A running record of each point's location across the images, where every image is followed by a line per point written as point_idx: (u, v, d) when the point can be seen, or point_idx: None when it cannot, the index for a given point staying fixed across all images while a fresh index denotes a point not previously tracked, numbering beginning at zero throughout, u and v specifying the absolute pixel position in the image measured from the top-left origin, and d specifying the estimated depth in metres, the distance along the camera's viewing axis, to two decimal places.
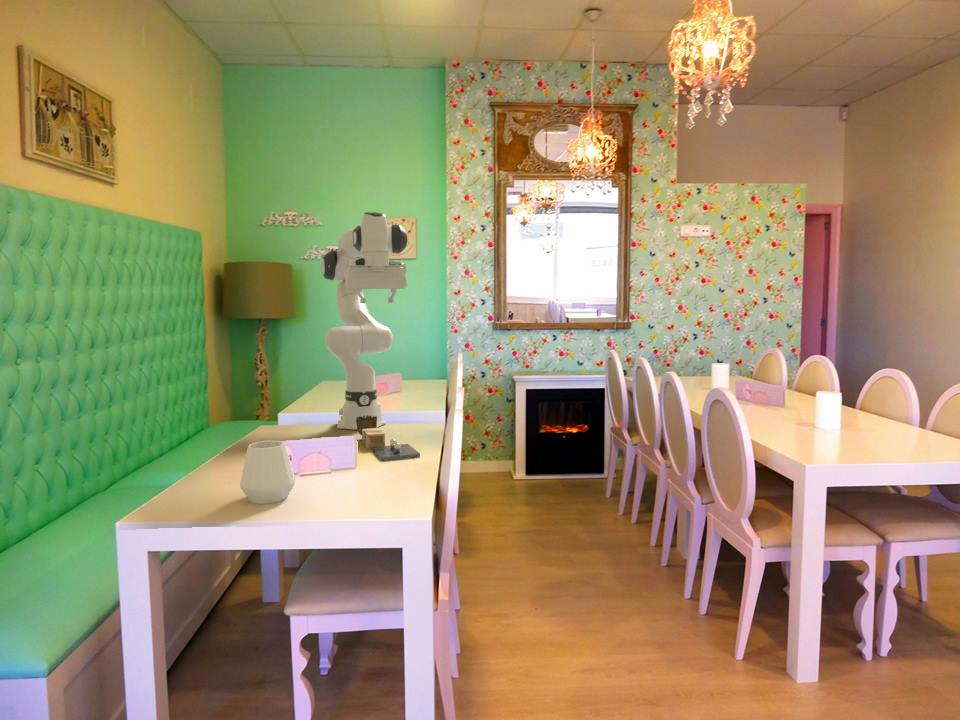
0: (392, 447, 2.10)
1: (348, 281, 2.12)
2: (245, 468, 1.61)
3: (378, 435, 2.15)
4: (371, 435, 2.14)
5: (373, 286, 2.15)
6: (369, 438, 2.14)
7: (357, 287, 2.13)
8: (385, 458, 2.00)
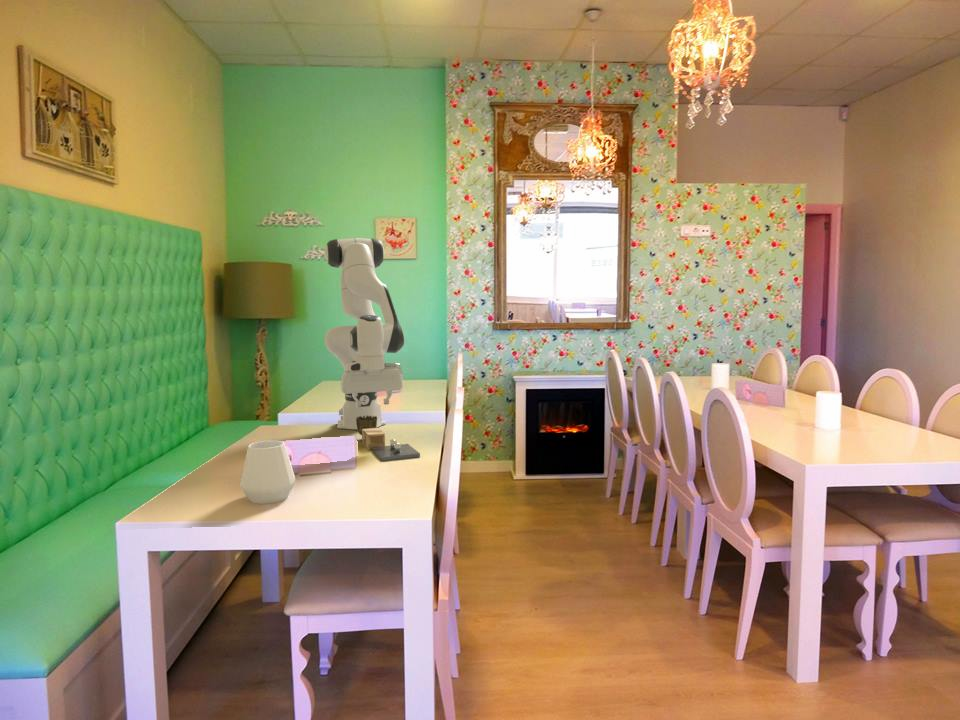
0: (392, 447, 2.10)
1: (344, 386, 2.12)
2: (245, 468, 1.61)
3: (378, 435, 2.15)
4: (371, 435, 2.14)
5: (369, 389, 2.15)
6: (369, 438, 2.14)
7: (353, 391, 2.13)
8: (385, 458, 2.00)
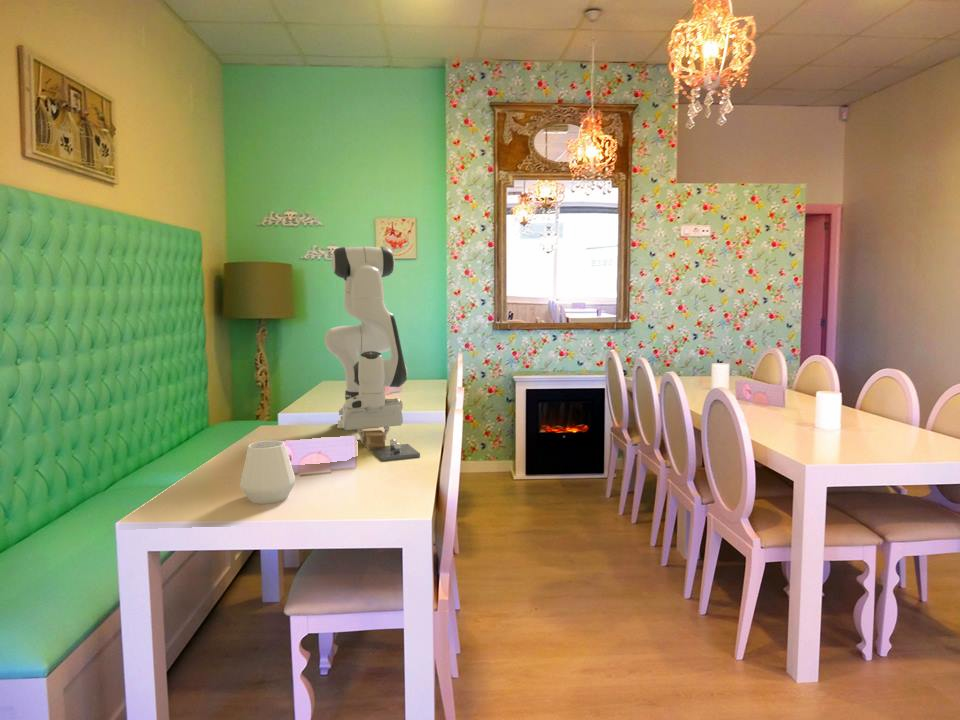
0: (392, 447, 2.10)
1: (345, 423, 2.14)
2: (245, 468, 1.61)
3: (378, 435, 2.15)
4: (371, 435, 2.14)
5: (369, 426, 2.17)
6: (369, 438, 2.14)
7: (354, 428, 2.15)
8: (385, 458, 2.00)
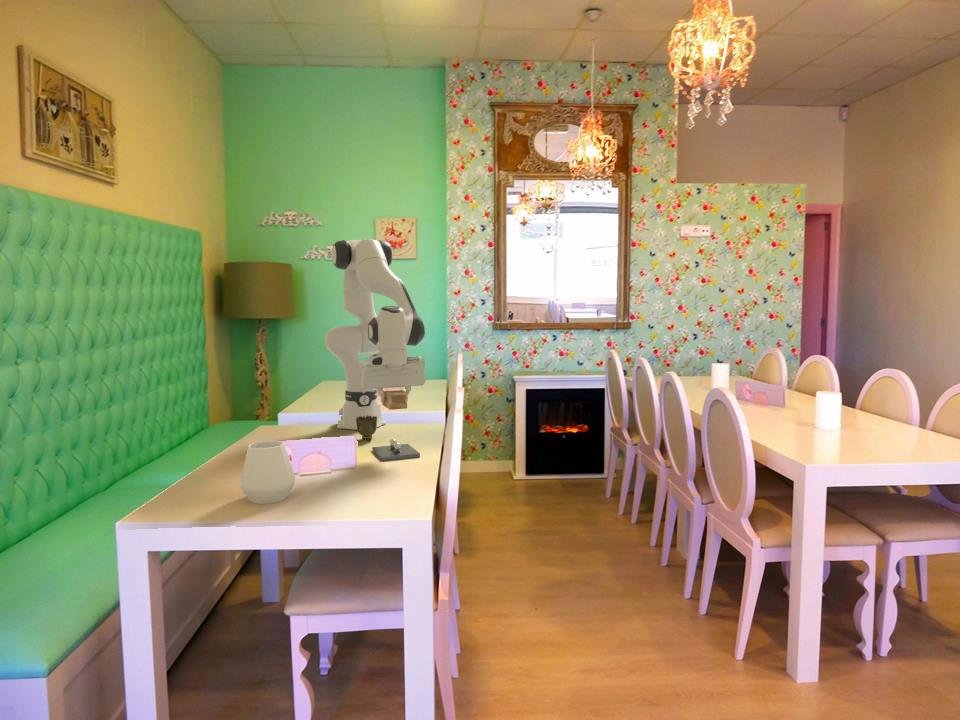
0: (392, 447, 2.10)
1: (364, 381, 2.00)
2: (245, 468, 1.61)
3: (400, 394, 2.02)
4: (392, 394, 2.01)
5: (390, 385, 2.04)
6: (390, 397, 2.01)
7: (374, 387, 2.02)
8: (385, 458, 2.00)
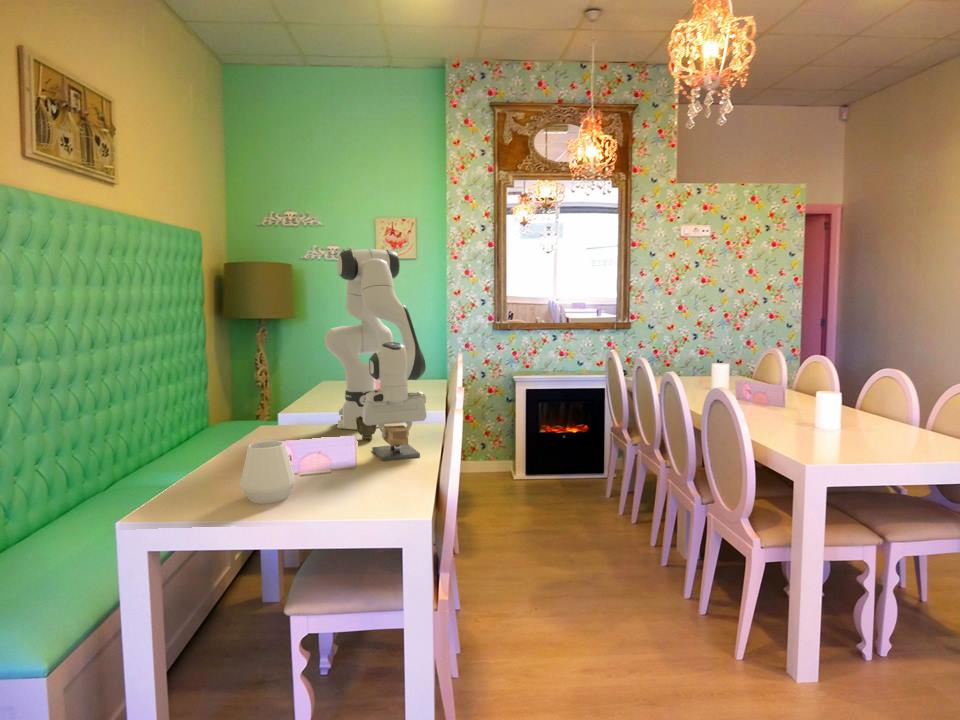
0: (392, 447, 2.10)
1: (366, 418, 2.02)
2: (245, 468, 1.61)
3: (401, 430, 2.03)
4: (394, 430, 2.02)
5: (392, 421, 2.05)
6: (391, 434, 2.02)
7: (375, 423, 2.03)
8: (385, 458, 2.00)
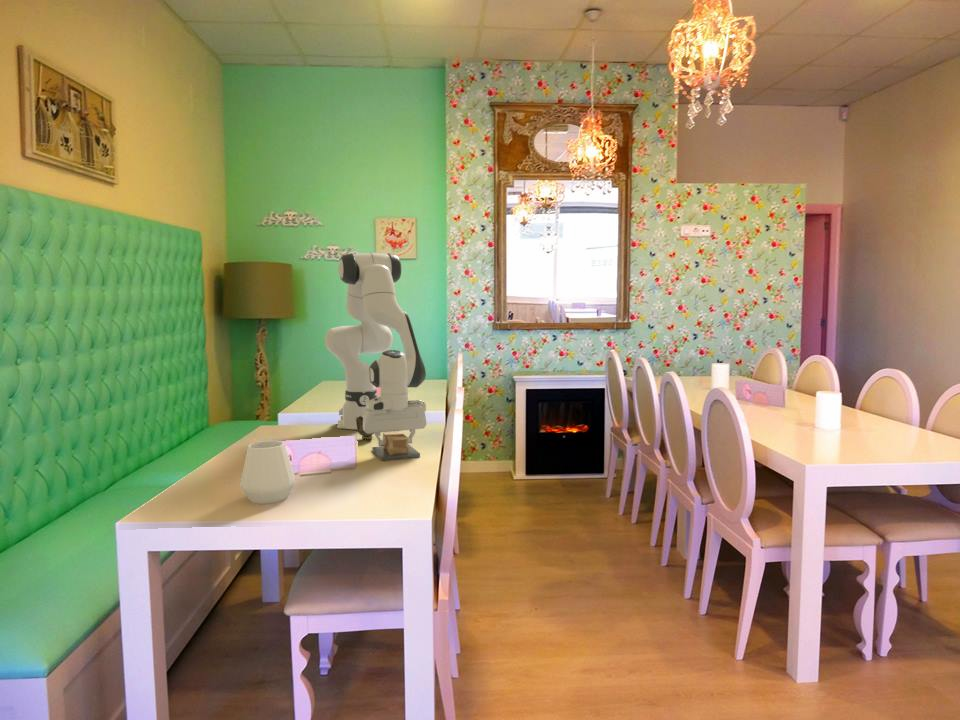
0: None
1: (366, 426, 2.02)
2: (245, 468, 1.61)
3: (401, 439, 2.03)
4: (394, 439, 2.03)
5: (392, 429, 2.05)
6: (391, 442, 2.02)
7: (375, 431, 2.03)
8: (385, 458, 2.00)
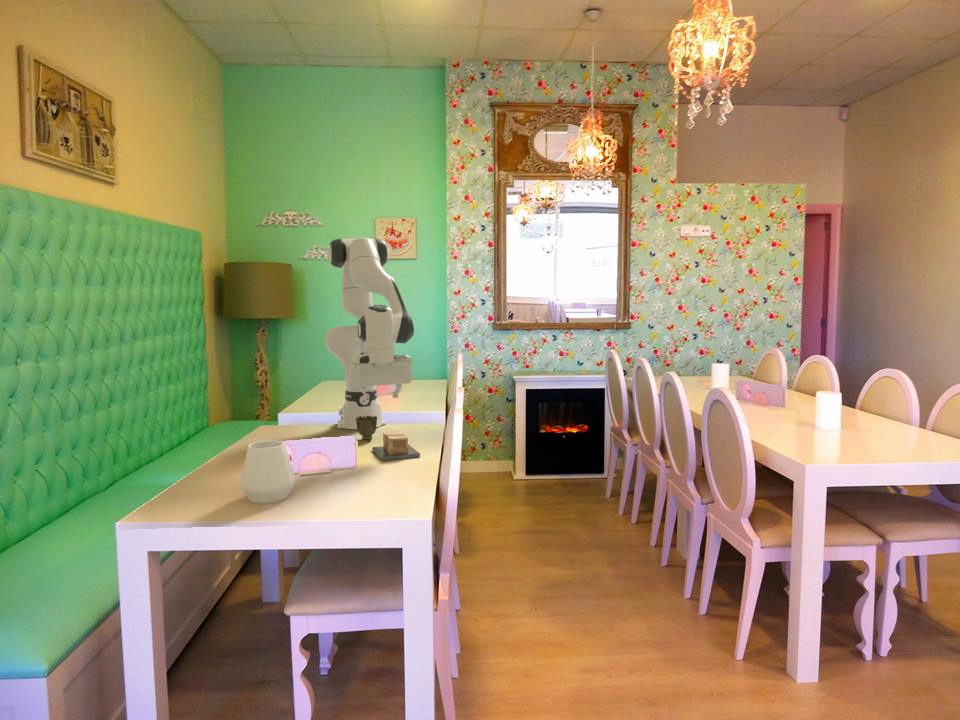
0: None
1: (352, 379, 2.04)
2: (245, 468, 1.61)
3: (401, 439, 2.03)
4: (394, 439, 2.03)
5: (377, 383, 2.07)
6: (391, 442, 2.02)
7: (361, 385, 2.05)
8: (385, 458, 2.00)
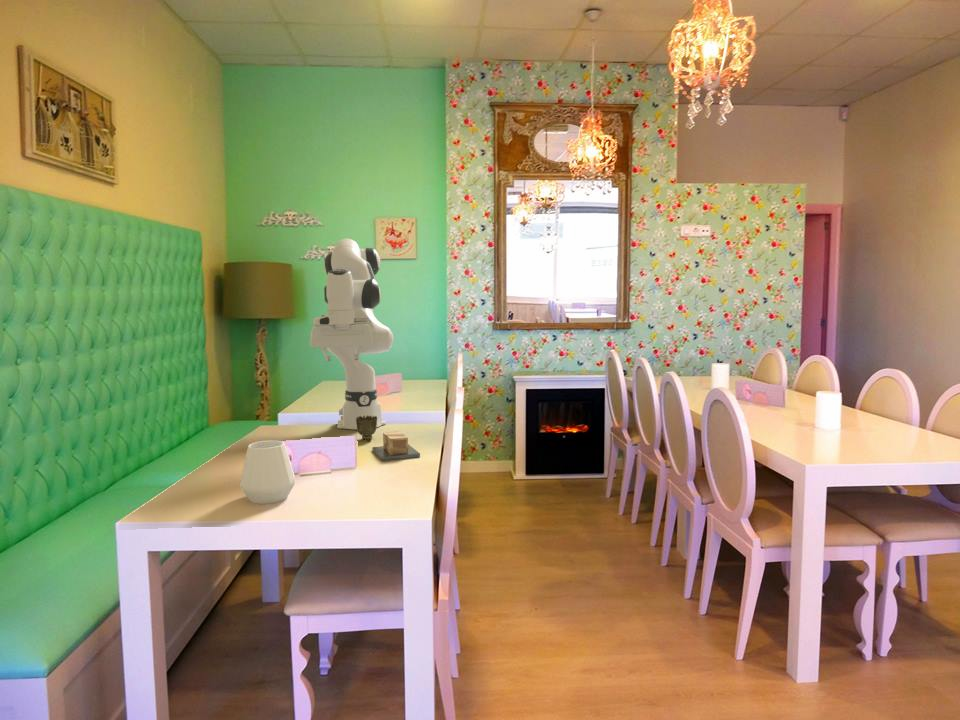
0: None
1: (312, 340, 2.10)
2: (245, 468, 1.61)
3: (401, 439, 2.03)
4: (394, 439, 2.03)
5: (338, 344, 2.13)
6: (391, 442, 2.02)
7: (322, 346, 2.11)
8: (385, 458, 2.00)
